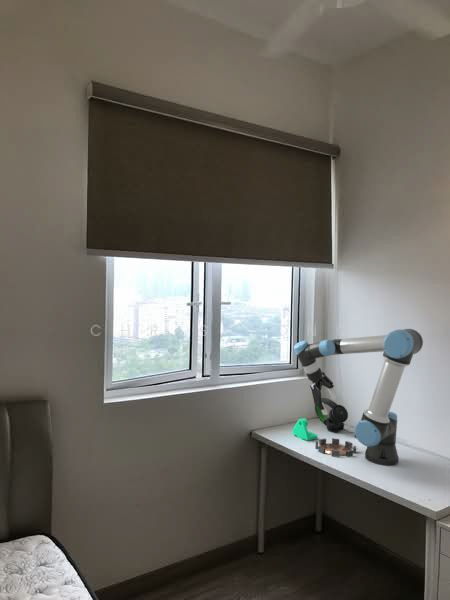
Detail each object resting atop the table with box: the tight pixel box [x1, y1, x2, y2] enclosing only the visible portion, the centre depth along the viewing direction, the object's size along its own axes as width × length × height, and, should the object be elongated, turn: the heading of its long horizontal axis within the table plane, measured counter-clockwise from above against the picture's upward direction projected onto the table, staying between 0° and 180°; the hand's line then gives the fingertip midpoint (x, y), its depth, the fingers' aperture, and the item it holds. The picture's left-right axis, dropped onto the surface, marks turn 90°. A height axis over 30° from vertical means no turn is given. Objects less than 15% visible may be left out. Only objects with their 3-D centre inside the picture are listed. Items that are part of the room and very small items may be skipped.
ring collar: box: [315, 437, 357, 458], centre depth 236 cm, size 19×19×2 cm
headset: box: [314, 397, 357, 439], centre depth 265 cm, size 18×14×29 cm
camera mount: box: [291, 418, 318, 441], centre depth 253 cm, size 12×8×10 cm, turn 31°
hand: (330, 406), depth 242 cm, fingers open, 13 cm apart
